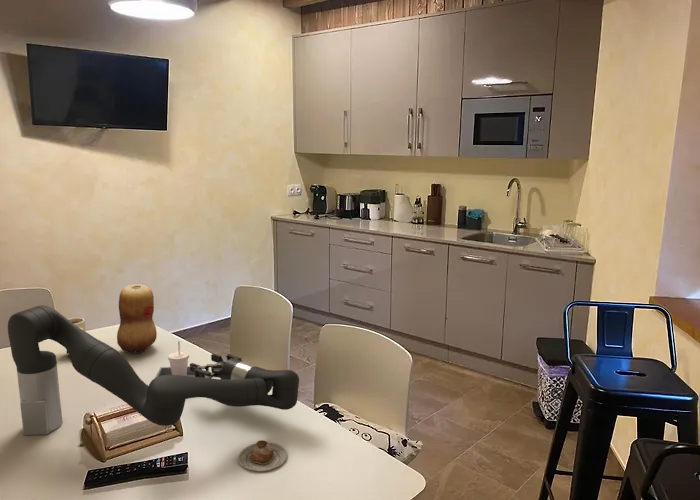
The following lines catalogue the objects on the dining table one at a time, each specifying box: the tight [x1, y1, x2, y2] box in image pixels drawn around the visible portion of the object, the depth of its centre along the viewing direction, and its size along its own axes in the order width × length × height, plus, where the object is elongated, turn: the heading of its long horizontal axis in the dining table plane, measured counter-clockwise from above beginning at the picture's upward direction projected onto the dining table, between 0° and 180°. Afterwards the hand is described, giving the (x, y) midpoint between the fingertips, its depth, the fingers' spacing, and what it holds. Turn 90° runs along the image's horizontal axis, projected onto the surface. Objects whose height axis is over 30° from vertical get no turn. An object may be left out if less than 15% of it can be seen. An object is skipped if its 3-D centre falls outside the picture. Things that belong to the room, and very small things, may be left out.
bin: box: [154, 365, 195, 379], centre depth 171 cm, size 13×13×4 cm
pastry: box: [237, 440, 288, 472], centre depth 133 cm, size 12×12×5 cm
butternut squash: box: [116, 283, 158, 354], centre depth 195 cm, size 14×13×25 cm
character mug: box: [66, 317, 86, 355], centre depth 192 cm, size 11×7×13 cm, turn 57°
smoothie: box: [167, 340, 190, 376], centre depth 169 cm, size 6×6×14 cm
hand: (201, 361), depth 164 cm, fingers open, 8 cm apart
